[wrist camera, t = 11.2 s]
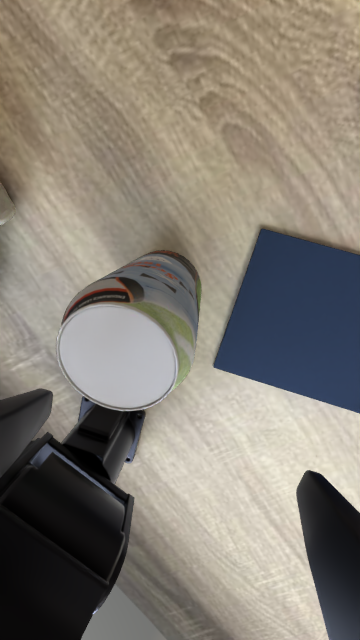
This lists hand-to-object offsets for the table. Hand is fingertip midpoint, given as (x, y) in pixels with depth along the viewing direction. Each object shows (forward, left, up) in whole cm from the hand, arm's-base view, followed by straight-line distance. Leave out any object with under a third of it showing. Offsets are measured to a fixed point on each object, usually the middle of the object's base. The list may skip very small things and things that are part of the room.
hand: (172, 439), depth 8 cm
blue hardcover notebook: (+3, -12, -13) cm, 18 cm away
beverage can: (+2, +3, -13) cm, 14 cm away
